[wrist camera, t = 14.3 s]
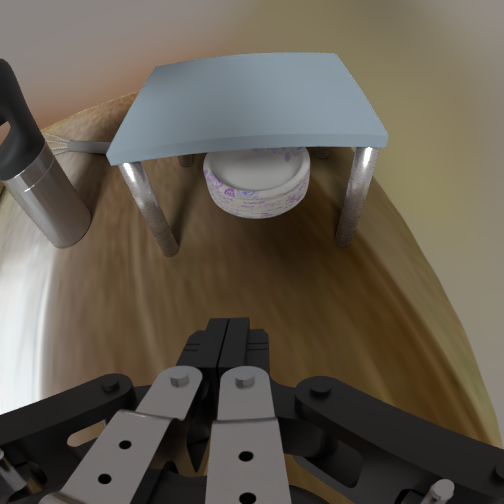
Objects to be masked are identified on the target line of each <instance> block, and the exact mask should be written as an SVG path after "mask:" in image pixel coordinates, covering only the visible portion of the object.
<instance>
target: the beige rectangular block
mask: <svg viewBox="0 0 504 504" xmlns="http://www.w3.org/2000/svg"><path fill="white" fill-rule="evenodd" d="M3 187H4V184H3V183H2V182H1V180H0V194H1V192H2V190H3Z"/></svg>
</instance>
